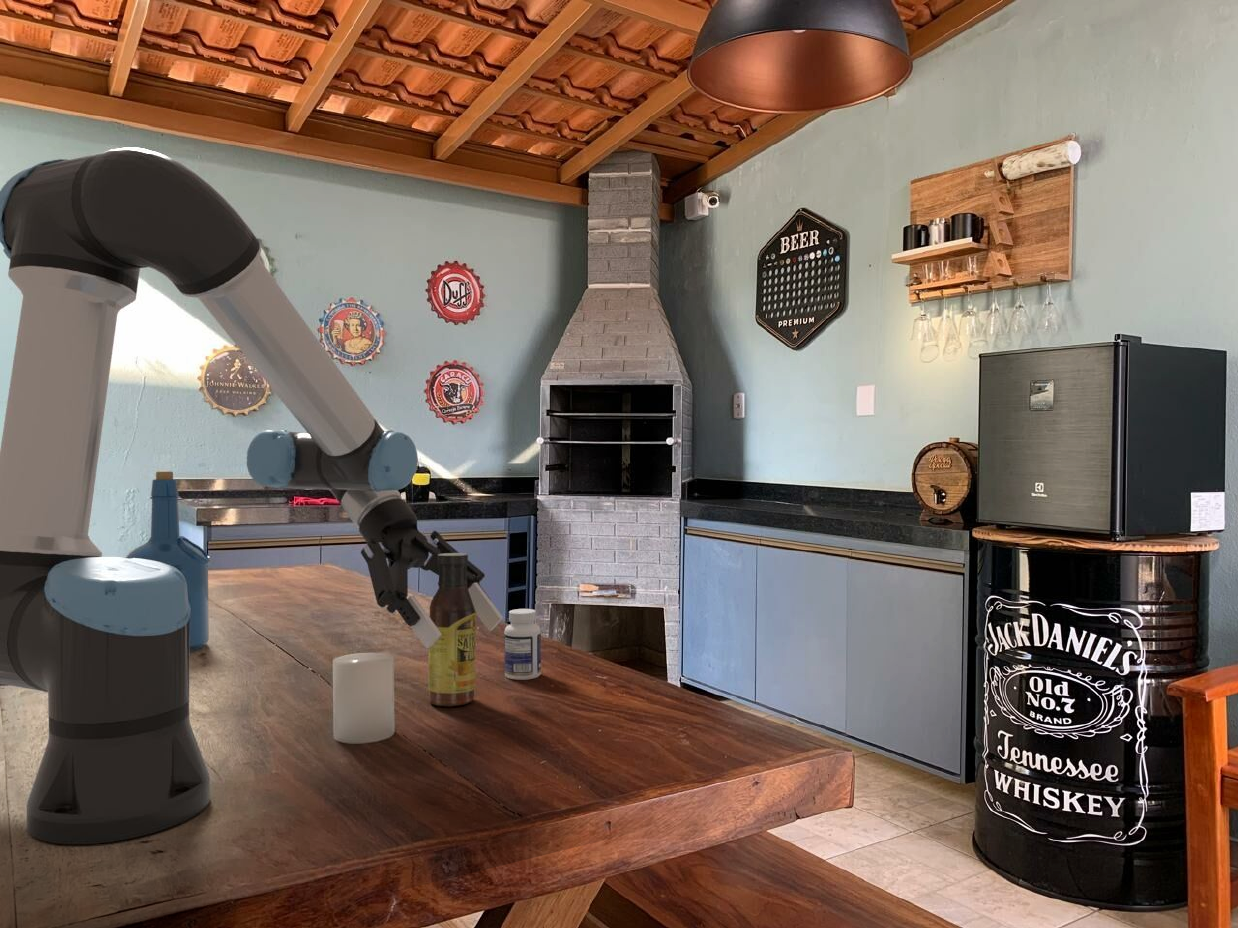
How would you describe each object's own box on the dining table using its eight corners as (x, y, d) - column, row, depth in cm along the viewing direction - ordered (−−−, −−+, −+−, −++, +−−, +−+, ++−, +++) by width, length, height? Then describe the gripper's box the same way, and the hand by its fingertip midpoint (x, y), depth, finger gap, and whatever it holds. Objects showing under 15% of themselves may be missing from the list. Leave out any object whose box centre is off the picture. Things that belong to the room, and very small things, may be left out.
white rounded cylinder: (402, 737, 110) (401, 661, 110) (342, 747, 106) (341, 668, 106) (384, 722, 116) (383, 650, 116) (327, 731, 112) (326, 656, 112)
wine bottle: (112, 660, 149) (110, 472, 148) (132, 643, 162) (130, 470, 161) (205, 654, 153) (203, 471, 152) (217, 638, 165) (215, 469, 165)
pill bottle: (522, 669, 143) (522, 606, 143) (548, 675, 139) (548, 610, 139) (496, 676, 139) (496, 611, 138) (522, 682, 135) (522, 615, 135)
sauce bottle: (465, 709, 121) (465, 557, 121) (420, 707, 123) (419, 556, 122) (482, 696, 128) (482, 551, 127) (439, 693, 129) (439, 550, 128)
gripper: (424, 525, 143) (505, 634, 136) (298, 539, 122) (386, 669, 114) (451, 491, 140) (535, 600, 133) (327, 500, 119) (419, 630, 112)
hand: (466, 632), depth 124 cm, fingers open, 12 cm apart
